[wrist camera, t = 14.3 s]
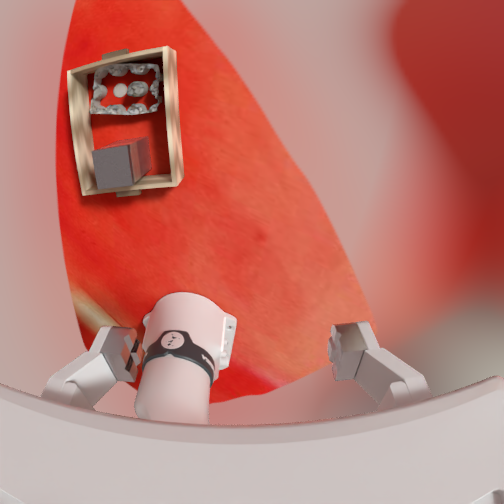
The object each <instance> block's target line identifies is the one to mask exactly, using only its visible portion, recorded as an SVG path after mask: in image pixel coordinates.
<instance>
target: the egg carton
mask: <svg viewBox="0 0 504 504" xmlns="http://www.w3.org/2000/svg"><path fill="white" fill-rule="evenodd" d="M151 68H152V69H154V70H155V72H156V76H155V77H156V79H157V80H154V81H153V84H152V85H151V86H150V91H151V92H152V95H154V96H155V99H158V103H157V104H154V105H152V106H151V107H150V110H149V111H147V108H146V106H145V105H144V104H132V105H131V106H130V107H129V108H128V110H127V111H126V109H125V107H124V106H123V105H120V104H119V105H109V106H108V107H107V108H105V107H103V106H101V105H100V100H101V99H102V98H104V97H105V96H106V94H107V88H106V86H104V85H101V82H102V78H104V77H106V76H107V74H108V72H110V74H111V75H113V76H124V75H125V74H127V72H128V70H129V69H130V70H131V73H134V74H137V75H138V74H139V75H144V74H147V73H148V72H149V70H150V69H151ZM162 81H164V74H161V73H160V71H159V66H158V65H156V64H113V65H108V66H104V67H101V68H98V69H97V70H96V71H95V75H94V86H93V90H94V98H92V100H91V108H90V111H89V113H90V114H122V115H136V114H143V113H151V112H154V111H157V107H158V105H159V104H160V103H162V96H159V95H158V93H159V90H158V87H159V82H162ZM126 92H127V95H129V96H133V97H142V96H144V95H146V94H147V92H148V85H147V84H146V83H145V82H140V81H135V82H132V83H131V84H130V85H129V86H128V89H127V87H126V85H125V84H122V83H119V84H117V85H116V86H115V87H114V91H113V93H114V95H115V96H116V97H119V98H120V97H123V96H124V95H125V94H126Z"/></svg>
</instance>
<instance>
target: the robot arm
mask: <svg viewBox="0 0 504 504" xmlns="http://www.w3.org/2000/svg"><path fill="white" fill-rule="evenodd" d="M143 324H144V326H145V327H146V331H145V335H144V339H143V344H142V345H141V343H140V341H139V340H137V339H136V337H137V332H136V330H135V329H134V328H127V327H116V326H102V327H101V328H100V330H99V332H98V334H97V336H96V338H95V340H94V342H93V344H92V346H91V348H90V350H89V352H88V351H86V352H84V353H83V354H82V355H80V356H79V357H77V358H76V359H75V360H73V361H72V362H70V363H69V364H68V365H66V366H65V367H63V368H62V369H61V370H59V371H58V372H57V373H55V374H54V375H52V376H51V377H50V378H49V380H48V383H47V384H46V387H45V389H44V391H43V393H42V395H41V397H38V396H35V395H32V394H29V393H26V392H23V391H19V390H17V389H14V388H11V387H9V386H6V385H3V384H1V383H0V504H504V378H502V377H500V376H492V377H489V378H487V379H484V380H482V381H479V382H477V383H474V384H471V385H468V386H466V387H463V388H460V389H457V390H454V391H451V392H448V393H445V394H441V395H438V396H435V397H433V396H432V394H431V392H430V390H429V387H428V385H427V383H426V381H425V379H424V377H423V375H422V374H420V373H419V372H417V371H416V370H414V369H413V368H412V367H410V366H409V365H407V364H406V363H404V362H403V361H401V360H400V359H399V358H397V357H396V356H394V355H393V354H391V353H390V352H388V351H387V350H386V349H384V348H380V347H379V345H378V342H377V340H376V338H375V335H374V333H373V331H372V329H371V327H370V324H369V322H368V321H361V322H352V323H342V324H333V325H332V327H331V331H330V332H331V335H332V336H331V337H330V338H329V341H328V356H329V360H330V361H331V362H332V363H333V366H332V371H333V375H334V379H335V381H339V380H349V379H354V380H355V381H356V382H357V383H358V384H359V385H360V386H361V387H362V388H363V389H364V390H365V391H366V392H367V393H368V394H369V395H370V396H371V397H372V398H373V399H374V400H375V401H376V402H377V403H378V404H379V407H378V408H377V410H376V411H374V412H369V413H364V414H358V415H352V416H345V417H339V418H331V419H324V420H315V421H306V422H295V423H280V424H260V425H211V424H209V414H208V413H209V393H210V388H211V386H212V384H213V381H214V380H216V379H217V378H218V373H219V370H222V369H225V368H227V367H228V365H229V361H230V356H231V350H232V345H233V340H234V335H235V330H236V324H237V319H236V318H235V317H234V316H232V315H230V314H228V313H225V312H224V311H222V310H221V309H220V308H219V307H218V306H217V305H216V304H215V303H214V302H212V301H211V300H209V299H207V298H205V297H203V296H201V295H198V294H194V293H188V292H177V293H172V294H169V295H166V296H164V297H163V298H161V299H160V300H159V301H158V302H157V303H156V305H155V307H154V309H153V310H152V311H151V312H150V313H148V314H147V315H145V316H144V318H143ZM229 326H231V327H229ZM142 348H143V349H144V351H145V353H146V354H145V356H144V359H143V365H142V372H143V374H142V377H141V381H140V385H139V388H138V392H137V396H136V399H135V404H134V408H135V412H136V414H137V416H138V417H139V418H133V417H125V416H120V415H114V414H108V413H103V412H98V411H95V409H94V408H93V406H94V405H95V404H96V403H97V402H98V401H99V400H100V399H101V398H102V397H103V396H104V395H105V393H107V392H108V391H109V390H110V389H111V388H112V387H113V386H114V384H115V383H117V381H126V382H135V379H136V376H137V373H138V369H137V367H136V366H137V365H138V364H139V363H141V360H142V352H143V351H142Z"/></svg>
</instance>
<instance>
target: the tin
mask: <svg viewBox="0 0 504 504" xmlns="http://www.w3.org/2000/svg"><path fill="white" fill-rule="evenodd" d="M91 152H92V158H93V165H94V171H95V176H96V182H97V187H98V190H99V189H107V188H115V187H124V186H133V185H134V184H135V182H136V181H137V180H139V179H140V178H141V177H142V176H143V175H144V174H145V173H147V172H148V171H149V170H150V169H152V166H151V157H150V149H149V139H148V136H146V137H139V138H132V139H125V140H119V141H116V142H114V143H111V144H109V145H107V146H104V147H102V148H99V149H97V150H93V151H91Z"/></svg>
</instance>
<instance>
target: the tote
mask: <svg viewBox="0 0 504 504" xmlns="http://www.w3.org/2000/svg"><path fill="white" fill-rule="evenodd" d="M162 57H163V73H164V94H165V109H166V123H167V136H168V147H169V157H170V167H171V174H161V175H150V176H142V177H141V178H140V179H139V180H137V181H136V182H135V184H134V185H133V186H124V187H115V188H107V189H99V190H98V187H97V182H96V176H95V171H94V165H93V158H92V152H91V151H93V150H94V144H93V136H92V128H91V119H90V113H89V111H90V108H89V95H88V78H87V74H91V73H94V72H95V71H96V70H97V69H98V68H101V67H104V66H108V65H113V64H130V63H135V62H140V61H145V60H150V59H156V58H162ZM67 81H68V97H69V110H70V120H71V129H72V137H73V144H74V151H75V157H76V164H77V169H78V175H79V180H80V185H81V190H82V195H83V196H85V195H92V194H101V193H109V192H116V195H117V197H123V196H133V195H140V194H141V193H142V192H141V189H149V188H161V187H174V186H178V184H179V183H180V182H181V180H182V179H183V178H184V168H183V157H182V145H181V132H180V118H179V102H178V83H177V57H176V51H175V50H173V49H171V48H170V47H168V46H164V47H159V48H153V49H148V50H143V51H138V52H133V53H129V49H122V50H118V51H114V52H110V53H107V54H103V55H102V60H101V61H98V62H94V63H91V64H88V65H85V66H81V67H78V68H75V69H72V70H69V71H67Z"/></svg>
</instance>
